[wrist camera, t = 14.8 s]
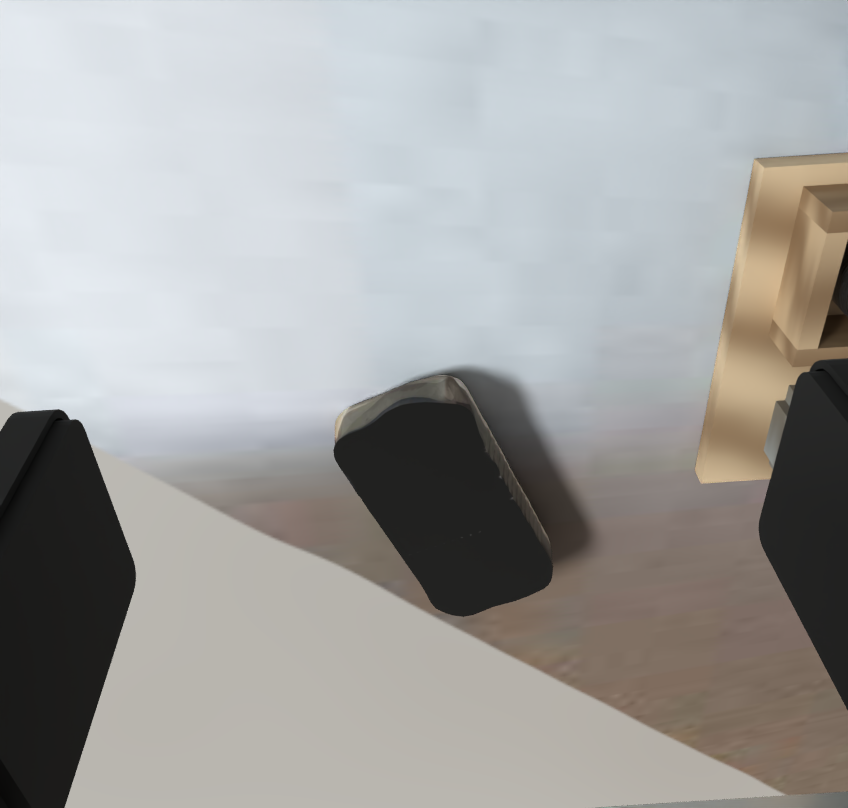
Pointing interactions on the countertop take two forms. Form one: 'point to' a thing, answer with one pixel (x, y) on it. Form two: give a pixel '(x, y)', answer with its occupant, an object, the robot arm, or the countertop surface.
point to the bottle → (842, 285)
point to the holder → (776, 311)
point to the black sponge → (444, 495)
